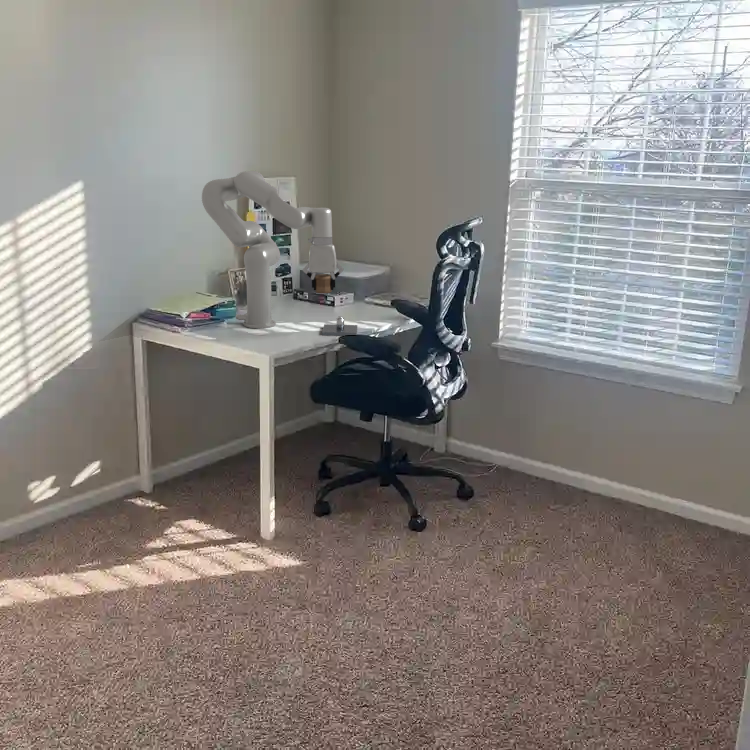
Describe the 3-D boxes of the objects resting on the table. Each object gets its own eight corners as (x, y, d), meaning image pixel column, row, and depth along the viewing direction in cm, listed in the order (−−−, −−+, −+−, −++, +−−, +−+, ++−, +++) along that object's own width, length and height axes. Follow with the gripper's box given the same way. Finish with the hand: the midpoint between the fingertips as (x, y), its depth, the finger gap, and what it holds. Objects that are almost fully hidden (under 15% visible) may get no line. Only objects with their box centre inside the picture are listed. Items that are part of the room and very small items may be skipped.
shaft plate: (322, 335, 310) (322, 320, 309) (324, 327, 323) (324, 312, 321) (356, 336, 310) (356, 321, 309) (357, 328, 323) (357, 313, 321)
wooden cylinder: (315, 293, 309) (314, 276, 307) (316, 290, 315) (315, 273, 313) (331, 293, 309) (330, 275, 307) (332, 290, 315) (331, 273, 313)
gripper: (298, 243, 303) (300, 291, 308) (344, 242, 303) (346, 291, 308) (300, 240, 311) (302, 288, 315) (345, 240, 310) (347, 287, 315)
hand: (323, 289), depth 312 cm, fingers closed on wooden cylinder, 6 cm apart
